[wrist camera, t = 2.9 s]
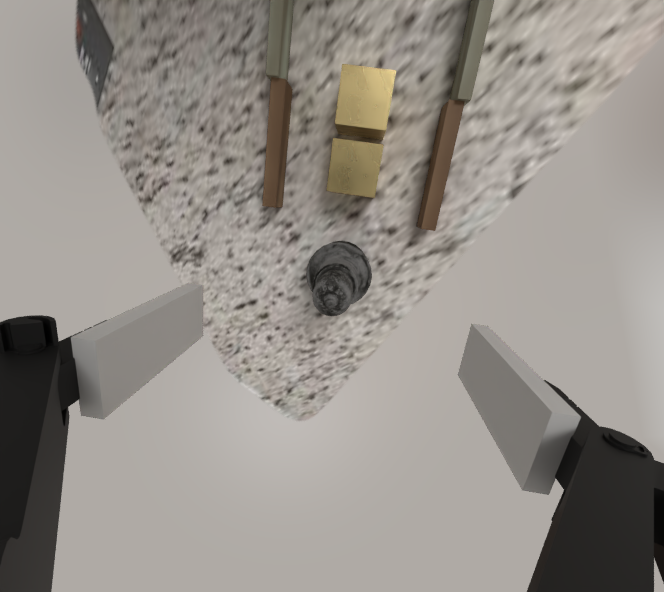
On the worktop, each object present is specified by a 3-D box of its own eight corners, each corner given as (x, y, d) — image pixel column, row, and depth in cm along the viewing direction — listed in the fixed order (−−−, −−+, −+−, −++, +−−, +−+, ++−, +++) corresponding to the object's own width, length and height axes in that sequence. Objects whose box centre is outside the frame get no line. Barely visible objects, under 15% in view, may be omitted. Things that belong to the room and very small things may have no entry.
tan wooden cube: (331, 192, 30) (326, 190, 26) (337, 146, 29) (333, 137, 25) (373, 198, 30) (374, 197, 26) (380, 152, 29) (383, 144, 25)
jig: (267, 204, 31) (257, 205, 28) (292, -146, 23) (282, -195, 20) (432, 228, 30) (439, 231, 27) (512, -126, 23) (534, -174, 20)
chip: (338, 134, 28) (334, 123, 25) (345, 83, 27) (342, 63, 23) (382, 140, 28) (385, 130, 24) (391, 89, 27) (396, 70, 23)
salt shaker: (378, 248, 31) (388, 276, 19) (360, 302, 33) (358, 357, 21) (321, 230, 31) (297, 247, 20) (305, 285, 33) (275, 330, 21)
